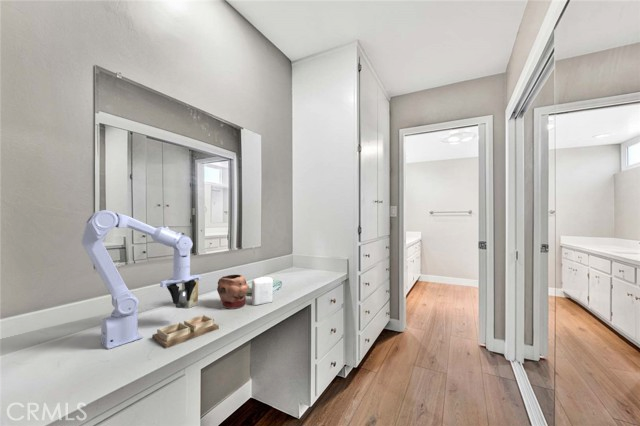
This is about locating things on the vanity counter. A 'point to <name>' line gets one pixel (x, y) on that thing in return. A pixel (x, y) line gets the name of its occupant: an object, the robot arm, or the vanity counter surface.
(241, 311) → the vanity counter surface
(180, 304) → the grey metal peg
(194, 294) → the skincare box
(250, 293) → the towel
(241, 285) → the decorative planter
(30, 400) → the vanity counter surface
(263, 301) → the photo printer
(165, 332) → the socket board
